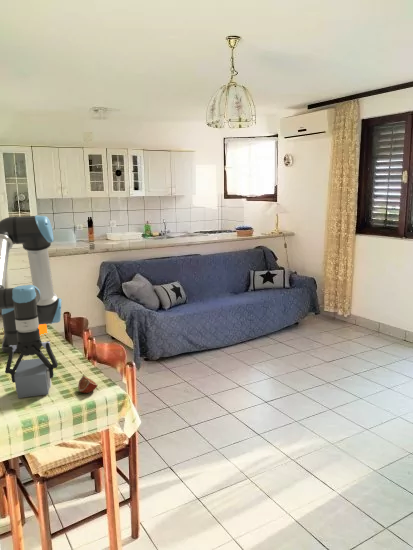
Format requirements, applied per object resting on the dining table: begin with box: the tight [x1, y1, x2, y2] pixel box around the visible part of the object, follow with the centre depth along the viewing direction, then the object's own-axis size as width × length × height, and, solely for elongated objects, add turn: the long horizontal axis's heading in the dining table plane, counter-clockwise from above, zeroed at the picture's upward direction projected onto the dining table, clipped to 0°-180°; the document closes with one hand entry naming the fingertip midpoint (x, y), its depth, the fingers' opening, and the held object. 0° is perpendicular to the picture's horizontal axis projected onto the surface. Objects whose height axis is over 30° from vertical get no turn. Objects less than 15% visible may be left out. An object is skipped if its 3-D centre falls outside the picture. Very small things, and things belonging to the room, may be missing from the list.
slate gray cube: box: [14, 357, 50, 399], centre depth 163 cm, size 10×10×9 cm
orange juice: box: [38, 324, 48, 336], centre depth 233 cm, size 8×9×20 cm
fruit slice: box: [77, 375, 98, 394], centre depth 163 cm, size 8×7×5 cm
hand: (34, 388), depth 163 cm, fingers closed on slate gray cube, 10 cm apart
